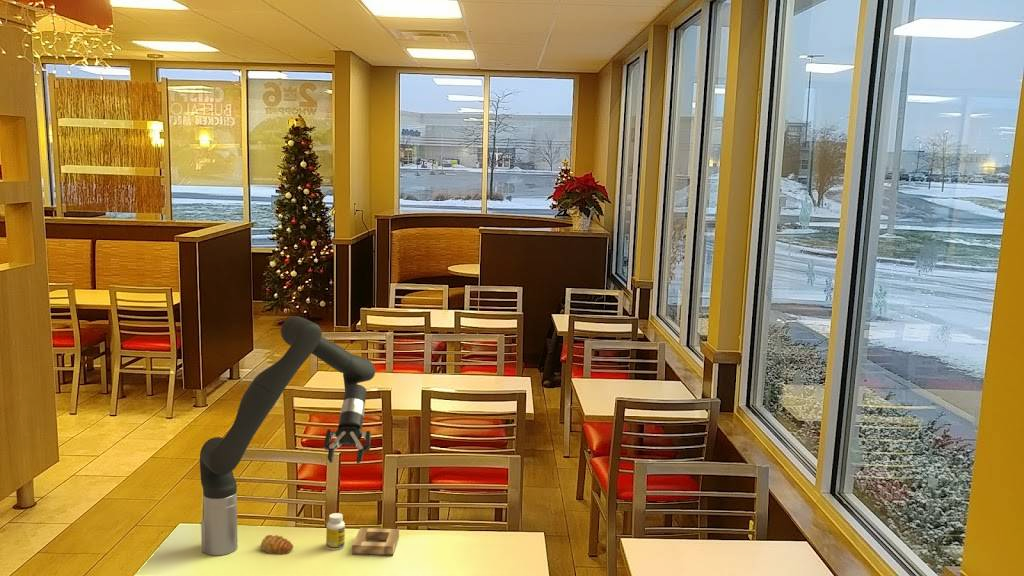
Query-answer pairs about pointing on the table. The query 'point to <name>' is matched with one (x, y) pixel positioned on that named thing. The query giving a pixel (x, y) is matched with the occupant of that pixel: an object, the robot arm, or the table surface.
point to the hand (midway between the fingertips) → (344, 462)
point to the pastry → (276, 545)
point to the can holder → (375, 542)
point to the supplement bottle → (335, 532)
